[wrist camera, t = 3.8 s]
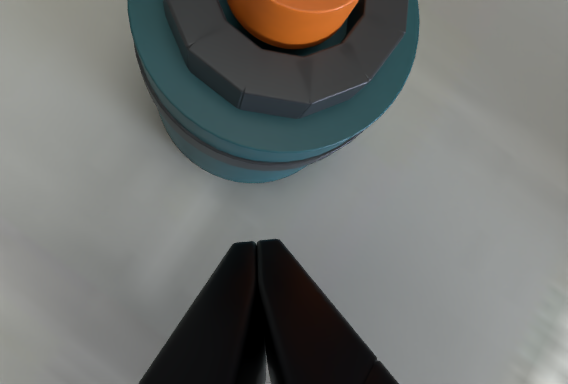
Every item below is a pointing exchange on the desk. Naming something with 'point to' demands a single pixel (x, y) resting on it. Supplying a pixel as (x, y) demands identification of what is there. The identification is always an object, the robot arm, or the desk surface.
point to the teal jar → (251, 125)
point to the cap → (284, 58)
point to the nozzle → (292, 20)
